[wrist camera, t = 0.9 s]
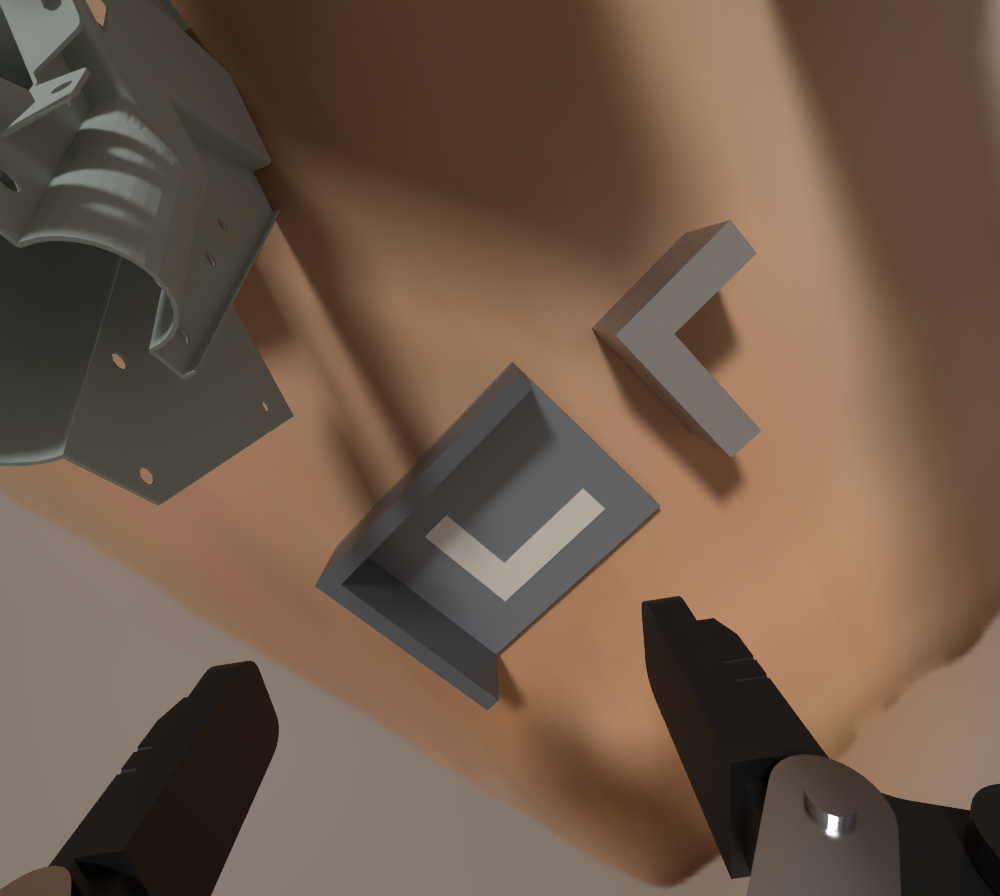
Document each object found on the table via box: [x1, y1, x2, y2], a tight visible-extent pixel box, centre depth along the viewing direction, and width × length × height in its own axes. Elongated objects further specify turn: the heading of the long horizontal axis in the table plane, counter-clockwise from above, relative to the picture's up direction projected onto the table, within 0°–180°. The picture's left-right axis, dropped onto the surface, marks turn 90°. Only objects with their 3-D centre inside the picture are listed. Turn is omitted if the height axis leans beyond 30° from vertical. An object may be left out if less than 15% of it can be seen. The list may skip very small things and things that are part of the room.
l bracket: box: [592, 220, 761, 458], centre depth 26 cm, size 9×7×5 cm
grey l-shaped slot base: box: [315, 362, 660, 710], centre depth 29 cm, size 16×13×5 cm
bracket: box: [0, 0, 293, 505], centre depth 15 cm, size 28×7×20 cm, turn 22°
